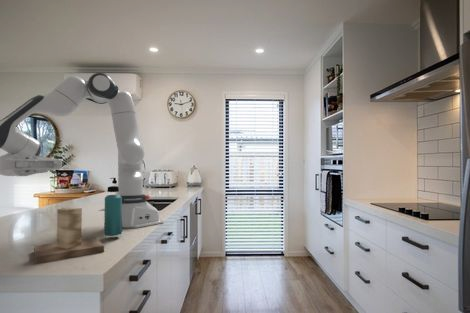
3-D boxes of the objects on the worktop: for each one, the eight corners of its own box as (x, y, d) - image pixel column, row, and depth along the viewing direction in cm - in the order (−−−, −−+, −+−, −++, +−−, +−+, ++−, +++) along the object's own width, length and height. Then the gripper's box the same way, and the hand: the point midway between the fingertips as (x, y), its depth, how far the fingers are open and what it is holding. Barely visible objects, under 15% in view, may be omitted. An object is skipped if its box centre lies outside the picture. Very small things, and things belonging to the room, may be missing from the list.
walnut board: (94, 242, 103) (95, 237, 103) (104, 251, 91) (104, 245, 92) (34, 252, 92) (34, 245, 92) (36, 263, 81) (36, 256, 81)
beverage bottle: (125, 237, 109) (125, 186, 110) (107, 241, 105) (107, 187, 105) (118, 235, 114) (118, 185, 115) (101, 238, 109) (101, 186, 110)
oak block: (72, 242, 95) (72, 207, 95) (81, 244, 93) (81, 208, 93) (56, 246, 91) (57, 209, 91) (66, 248, 88) (66, 210, 89)
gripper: (-11, 156, 99) (9, 154, 93) (49, 157, 117) (70, 156, 111) (-11, 173, 99) (9, 173, 93) (49, 172, 117) (70, 172, 111)
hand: (43, 164), depth 102 cm, fingers open, 8 cm apart
